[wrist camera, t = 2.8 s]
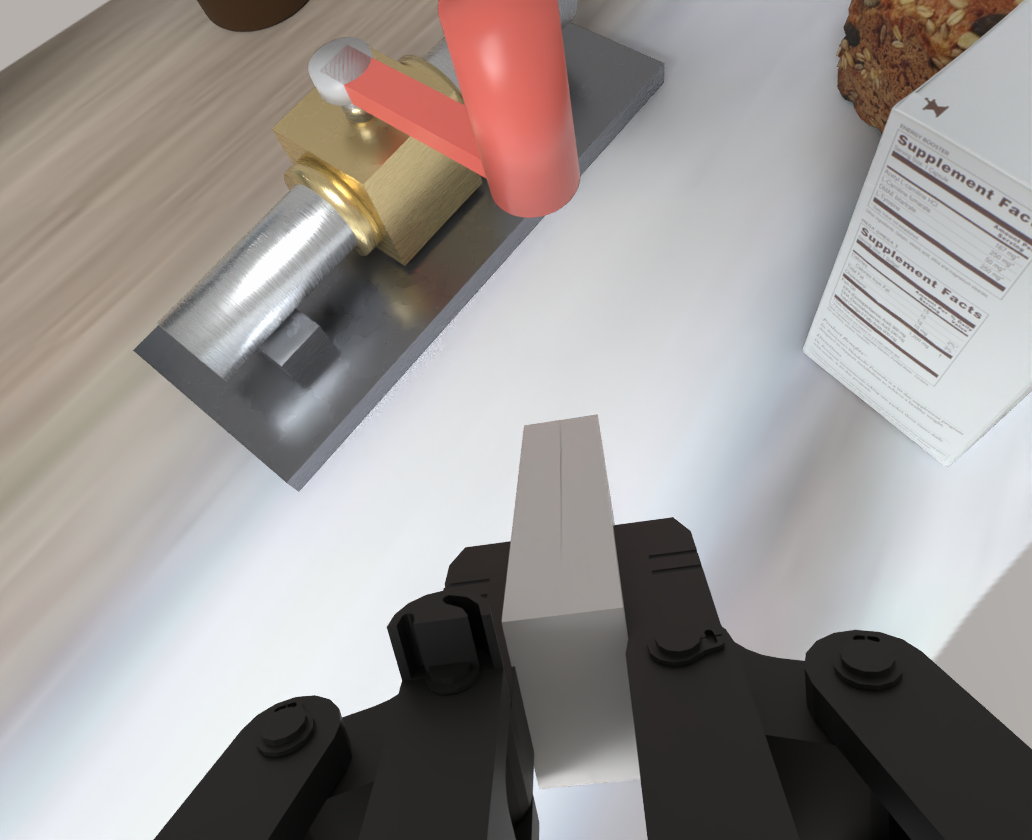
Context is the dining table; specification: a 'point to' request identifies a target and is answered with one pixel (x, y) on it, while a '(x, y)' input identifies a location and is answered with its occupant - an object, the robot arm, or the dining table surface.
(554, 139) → the lever
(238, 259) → the valve pipe
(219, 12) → the olive oil
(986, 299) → the supplement box
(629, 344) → the dining table surface
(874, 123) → the bread
